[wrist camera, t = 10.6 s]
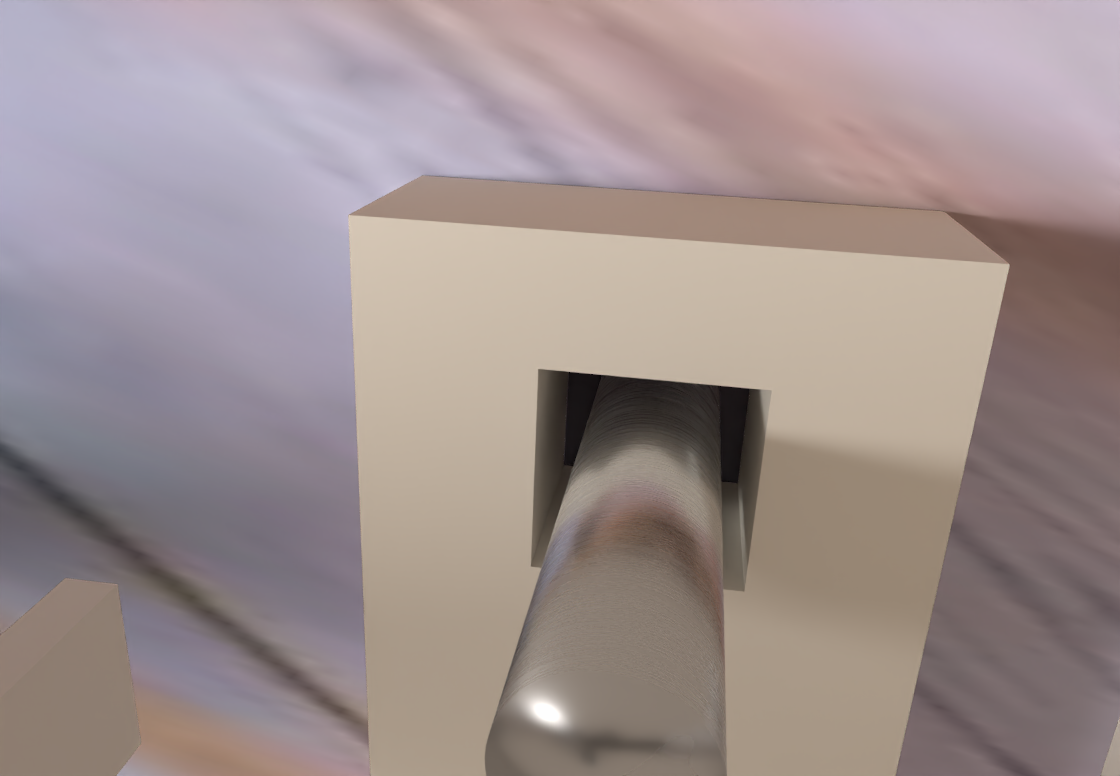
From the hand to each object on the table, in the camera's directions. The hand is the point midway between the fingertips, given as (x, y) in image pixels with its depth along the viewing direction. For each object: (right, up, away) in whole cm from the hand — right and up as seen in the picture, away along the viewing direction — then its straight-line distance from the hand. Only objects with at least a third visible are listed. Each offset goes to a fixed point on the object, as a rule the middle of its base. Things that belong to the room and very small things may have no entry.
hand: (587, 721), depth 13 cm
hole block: (+2, -1, +13) cm, 13 cm away
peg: (+2, +4, +11) cm, 12 cm away
